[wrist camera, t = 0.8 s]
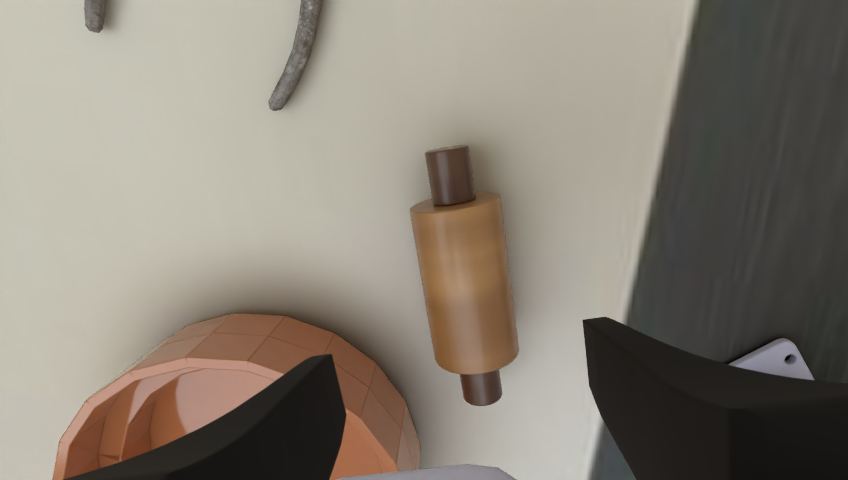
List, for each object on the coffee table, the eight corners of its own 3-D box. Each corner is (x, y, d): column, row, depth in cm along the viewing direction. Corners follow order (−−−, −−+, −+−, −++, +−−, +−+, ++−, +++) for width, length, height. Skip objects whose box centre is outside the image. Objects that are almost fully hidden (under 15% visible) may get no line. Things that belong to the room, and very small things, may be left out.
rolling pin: (512, 367, 24) (535, 411, 20) (438, 381, 24) (447, 428, 20) (483, 139, 21) (503, 142, 17) (399, 153, 21) (401, 159, 17)
